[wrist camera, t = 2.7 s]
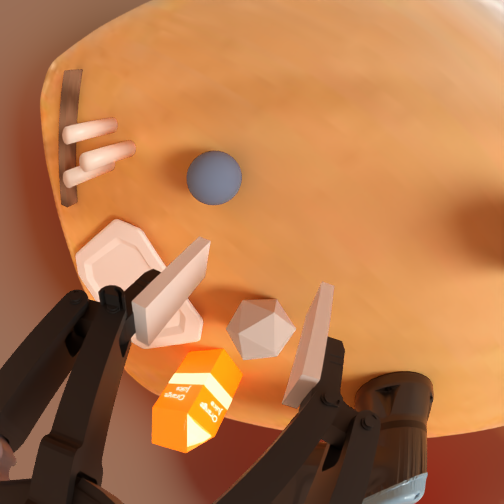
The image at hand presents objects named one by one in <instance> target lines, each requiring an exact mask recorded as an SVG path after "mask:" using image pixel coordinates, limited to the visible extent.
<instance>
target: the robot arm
mask: <svg viewBox="0 0 504 504" xmlns="http://www.w3.org/2000/svg"><path fill="white" fill-rule="evenodd" d="M209 247H210V240H207V239H204V238H202V237H198V238H197V239H196V240H195V241H194V242H193V243H192V244H191V245H190V246H189V247H187V248H186V249H185V250H184V251H183V252H182V253H181V254H180V255H179V256H178V257H177V258H176V259H175V260H174V261H173V262H171V263H170V264H169V265H168V266H167V267H166V268H165V269H164V270H163V271H162V272H160V271H157V270H155V269H151V270H149V271H147V272H145V273H144V274H142V275H141V276H140V277H139V279H137V280H136V281H135V282H134V283H133V284H131V285H130V286H129V287H128V288H127V289H126V290H125V291H123V289H122V288H121V287H119V286H116V285H108V286H105V287H103V288H101V289H100V290H99V291H98V294H99V299H100V302H97V301H93V300H89V299H88V296H87V294H86V293H85V292H84V291H82V290H73V291H70V292H69V293H67V294H66V295H65V296H64V297H63V298H62V299H61V300H60V301H59V302H58V303H57V304H56V306H55V307H54V308H53V309H52V310H51V311H50V312H49V313H48V314H47V315H46V316H45V317H44V318H43V319H42V321H41V322H40V323H39V324H38V325H37V326H36V327H35V328H34V329H33V331H32V332H31V333H30V334H29V335H28V336H27V337H26V339H25V340H24V341H23V342H22V343H21V345H20V346H19V347H18V348H17V349H16V351H15V352H14V353H13V354H12V355H11V357H10V358H9V359H8V360H7V362H6V363H5V364H4V365H3V367H2V368H1V369H0V504H124V503H122V502H121V501H120V500H119V499H118V498H117V497H115V496H114V495H112V494H111V493H109V492H108V491H106V490H105V489H103V488H102V487H101V483H102V476H103V468H102V456H103V451H104V446H105V441H106V436H107V431H108V427H109V423H110V418H111V414H112V410H113V406H114V402H115V398H116V395H117V391H118V387H119V383H120V380H121V376H122V373H123V369H124V366H125V362H126V359H127V356H128V353H129V349H130V346H131V338H132V336H133V335H134V334H136V340H138V341H139V342H141V343H143V344H145V345H147V346H148V347H149V346H150V345H151V343H152V342H153V341H154V340H155V338H156V337H157V336H158V334H159V333H160V332H161V331H162V329H163V328H164V327H165V326H166V324H167V323H168V322H169V321H170V319H171V318H172V317H173V316H174V314H175V313H176V312H177V311H178V309H179V308H180V307H181V306H182V304H183V303H184V302H185V301H186V299H187V298H188V297H189V296H190V295H191V293H192V292H193V291H194V290H195V288H196V287H197V286H198V285H199V283H200V282H201V281H202V280H203V279H204V277H205V274H206V267H207V260H208V254H209ZM333 293H334V286H333V285H330V284H328V283H325V282H322V283H321V285H320V287H319V289H318V291H317V293H316V296H315V298H314V300H313V302H312V304H311V306H310V308H309V310H308V312H307V315H306V318H305V322H304V326H303V330H302V334H301V338H300V342H299V345H298V349H297V353H296V356H295V360H294V364H293V367H292V371H291V374H290V378H289V381H288V384H287V388H286V391H285V394H284V398H283V401H282V404H284V405H287V406H290V407H293V408H298V407H299V405H300V408H299V412H298V413H297V414H296V416H295V417H294V418H293V419H292V420H291V421H290V423H289V424H288V425H287V427H286V428H285V429H284V430H283V432H282V433H281V434H280V435H279V436H278V437H277V439H276V440H275V441H274V442H273V443H272V444H271V445H270V447H269V448H268V449H267V450H266V451H265V452H264V453H263V454H262V455H261V456H260V457H259V459H258V460H257V461H256V462H255V463H254V464H253V465H252V466H251V467H250V468H249V469H248V470H247V471H246V472H245V473H244V474H243V475H242V476H241V477H240V478H239V479H238V480H237V481H236V482H235V483H234V484H233V485H232V486H231V487H230V488H229V489H228V490H227V491H226V492H225V493H224V494H222V495H221V496H220V497H219V498H218V499H217V500H216V501H215V502H214V503H212V504H414V503H416V502H417V501H418V500H419V499H421V497H422V496H423V494H424V491H425V483H426V477H427V426H426V425H427V421H428V417H429V414H430V410H431V405H432V402H433V397H434V394H433V385H432V382H431V381H430V379H428V378H427V377H426V376H424V375H422V374H418V373H413V372H397V373H391V374H387V375H383V376H380V377H377V378H375V379H373V380H371V381H369V382H367V383H366V384H365V385H363V386H362V387H361V388H360V389H359V391H358V392H357V394H356V399H355V410H354V409H353V408H351V407H349V406H348V405H347V404H346V403H345V402H344V401H343V398H342V396H341V394H340V387H341V380H342V371H343V363H344V360H343V359H344V353H345V349H344V346H343V343H342V341H340V340H337V339H334V338H331V337H328V330H329V323H330V316H331V309H332V301H333ZM71 370H72V371H71ZM70 371H71V374H70V376H69V379H68V381H67V384H66V387H65V390H64V393H63V395H62V398H61V401H60V404H59V407H58V410H57V413H56V417H55V420H54V423H53V426H52V430H51V432H50V433H49V434H48V435H45V436H44V437H43V438H42V440H41V442H40V446H39V449H38V454H37V457H36V462H35V466H34V470H33V475H32V478H31V479H21V480H10V479H9V469H10V467H11V466H14V465H16V458H15V456H14V455H13V453H14V452H15V451H16V450H18V448H19V447H20V446H21V445H22V444H23V443H24V441H25V440H26V438H27V437H28V435H29V434H30V432H31V430H32V429H33V427H34V425H35V424H36V422H37V421H38V419H39V418H40V416H41V414H42V413H43V411H44V410H45V408H46V407H47V405H48V404H49V402H50V400H51V399H52V398H53V396H54V395H55V393H56V392H57V390H58V389H59V387H60V386H61V384H62V383H63V381H64V380H65V378H66V377H67V376H68V374H69V373H70ZM321 439H322V440H324V441H325V442H319V441H320V440H321Z"/></svg>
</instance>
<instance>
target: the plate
mask: <svg viewBox="0 0 504 504" xmlns="http://www.w3.org/2000/svg"><path fill="white" fill-rule="evenodd" d="M76 263H77V269H78V274H79V276H80V278H81V279H82V281H83V282H84V284H85V285H86V287H87V288H88V290H89V291H90V293H91V294H92V296H93V297H94V298H95V300H96V301H97V302H100V299H99V294H98V291H99V290H100V289H101V288H103V287H105V286H108V285H116V286H119V287H121V288H122V289H123V291H125V290H126V289H127V288H128V287H129V286H130V285H131V284H133V283H134V282H135V281H136V280H137V279H139V277H140V276H141V275H142V274H144V273H145V272H147V271H149V270H151V269H155V270H157V271H160V272H162V271H163V270H164V269H165V268H166V266H165V264H164V263H163V261H162V260H161V258H160V257H159V255H158V254H157V252H156V250H155V249H154V247H153V246H152V244H151V243H150V241H149V240H148V238H147V236H146V235H145V233H144V232H143V231H142V230H141V229H140V228H138V227H136V226H134V225H131V224H129V223H127V222H124V221H122V220H120V219H114V220H113V221H112V222H111V223H110V224H108V225H107V226H106V227H105V228H104V229H103V230H101V231H100V232H99V233H98V234H97V235H96V236H95V237H94V238H92V239H91V240H90V241H89V242H88V243H87V244H86V245H85V246H84V247H82V248H81V249H80V250H79V251H78V252H77V253H76ZM202 327H203V319H202V317H201V316H200V314H199V313H198V312H197V310H196V309H195V307H194V306H193V305H192V303H191V302H190V300H189V299H188V298H187V299H186V301H185V302H184V303H183V304H182V306H181V307H180V308H179V309H178V311H177V312H176V313H175V314H174V316H173V317H172V318H171V319H170V321H169V322H168V323H167V324H166V326H165V327H164V328H163V329H162V331H161V332H160V333H159V334H158V336H157V337H156V338H155V340H154V341H153V342H152V343H151V345H150V346H149V347H148V346H147V345H145V344H143V343H141V342H139V341H138V340H136V334H134V335H133V336H132V338H131V342H132V343H134V344H136V345H137V346H139V347H141V348H143V349H149V348H156V347H163V346H170V345H177V344H184V343H190V342H196V341H199V340H200V339H201V333H202Z"/></svg>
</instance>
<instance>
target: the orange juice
mask: <svg viewBox="0 0 504 504" xmlns="http://www.w3.org/2000/svg"><path fill="white" fill-rule="evenodd" d="M242 376H243V374H242V373H241V371H240V370H239V369H238V367H237V366H236V365H235V363H234V362H233V361H232V359H231V358H230V357H229V355H228V354H227V353H226V351H225V350H224V348H223V349H213V350H203V351H191V352H189V353H188V354H187V356H186V357H185V359H184V360H183V362H182V363H181V365H180V366H179V368H178V369H177V371H176V373H175V374H174V375H173V377H172V378H171V380H170V381H169V383H168V385H167V386H166V388H165V389H164V391H163V392H162V394H161V396H160V397H159V399H158V400H157V402H156V403H155V405H154V406H153V412H152V415H153V416H152V443H153V444H157V445H160V446H163V447H167V448H170V449H173V450H177V451H181V452H185V453H187V452H188V451H190V450H192V449H193V448H195V447H197V446H199V445H201V444H202V443H204V442H206V441H207V440H209V439H211V438H212V437H215V435H216V432H217V430H218V428H219V426H220V424H221V422H222V419H223V418H224V415H225V413H226V411H227V410H228V408H229V405H230V403H231V401H232V398H233V396H234V394H235V392H236V389H237V387H238V385H239V383H240V380H241V378H242Z"/></svg>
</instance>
